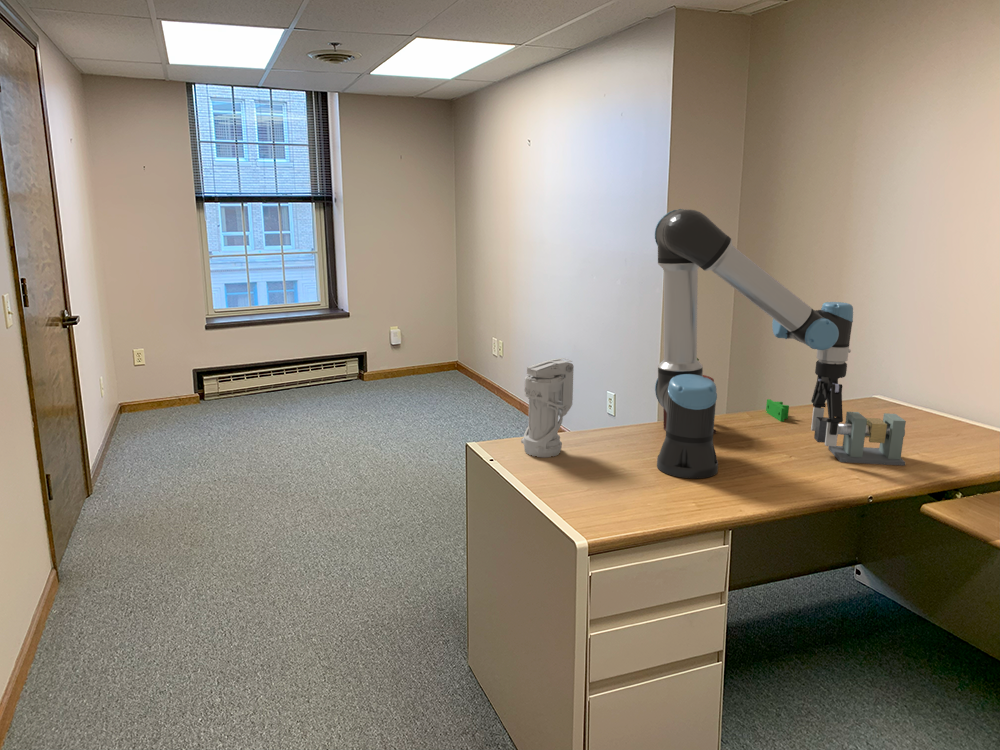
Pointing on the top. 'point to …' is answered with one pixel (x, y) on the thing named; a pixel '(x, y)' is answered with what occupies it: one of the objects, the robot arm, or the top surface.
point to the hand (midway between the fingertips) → (823, 437)
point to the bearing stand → (859, 454)
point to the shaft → (842, 430)
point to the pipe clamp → (777, 410)
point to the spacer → (876, 430)
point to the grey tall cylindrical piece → (547, 405)
